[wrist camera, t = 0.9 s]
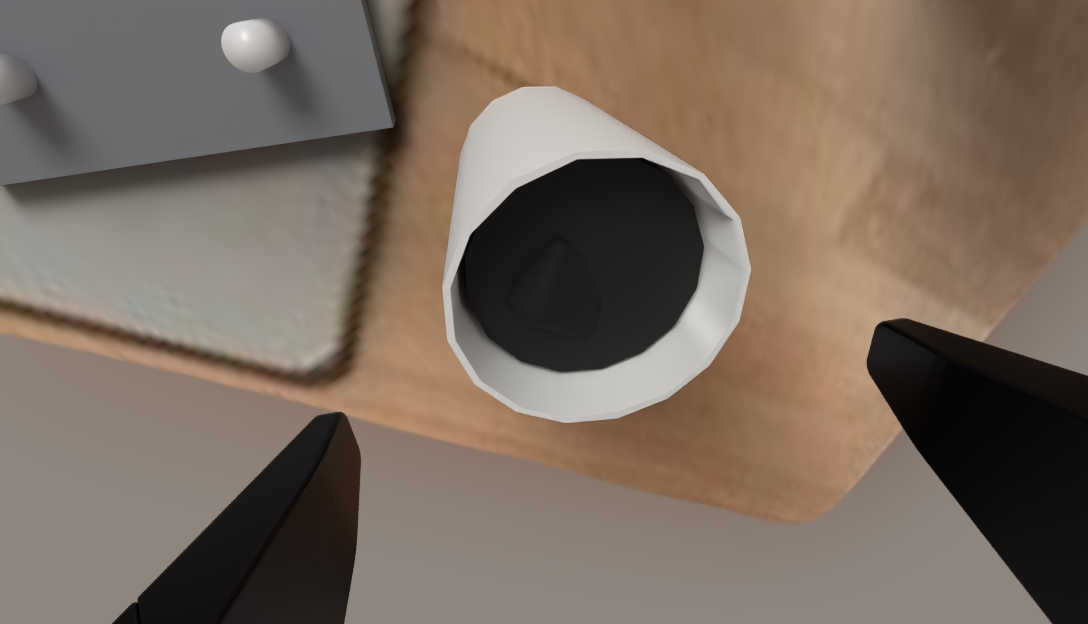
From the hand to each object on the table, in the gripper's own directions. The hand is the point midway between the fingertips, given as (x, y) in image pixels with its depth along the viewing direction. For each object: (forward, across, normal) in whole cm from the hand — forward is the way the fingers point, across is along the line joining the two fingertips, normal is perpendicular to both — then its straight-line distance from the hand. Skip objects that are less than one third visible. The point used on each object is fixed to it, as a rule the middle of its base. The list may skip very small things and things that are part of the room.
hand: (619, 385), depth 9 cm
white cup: (+13, 0, 0) cm, 13 cm away
